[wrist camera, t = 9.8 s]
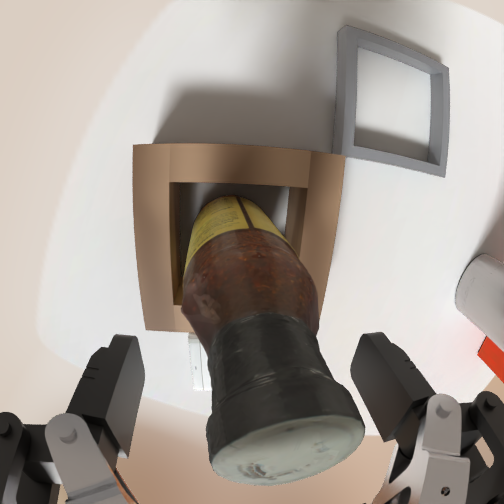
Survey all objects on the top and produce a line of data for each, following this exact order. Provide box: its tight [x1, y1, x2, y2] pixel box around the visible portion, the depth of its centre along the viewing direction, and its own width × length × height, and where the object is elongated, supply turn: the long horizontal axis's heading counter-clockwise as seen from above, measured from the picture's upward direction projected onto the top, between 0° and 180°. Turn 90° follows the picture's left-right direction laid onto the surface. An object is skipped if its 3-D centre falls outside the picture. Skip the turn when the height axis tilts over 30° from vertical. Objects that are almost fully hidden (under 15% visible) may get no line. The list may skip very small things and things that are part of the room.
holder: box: [133, 143, 346, 333], centre depth 21 cm, size 14×14×5 cm
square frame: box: [332, 25, 450, 178], centre depth 20 cm, size 12×12×2 cm
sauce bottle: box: [181, 195, 365, 486], centre depth 14 cm, size 6×6×20 cm
